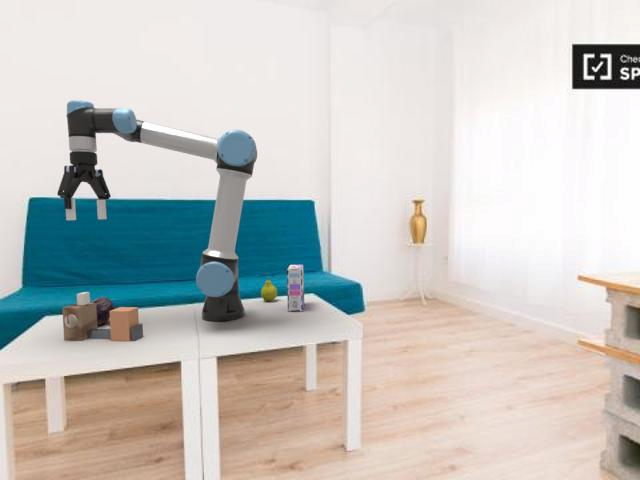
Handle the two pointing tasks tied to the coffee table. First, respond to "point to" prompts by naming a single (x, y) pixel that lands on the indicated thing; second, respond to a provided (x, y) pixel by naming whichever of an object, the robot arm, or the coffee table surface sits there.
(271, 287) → the fruit
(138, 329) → the rail
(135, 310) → the block
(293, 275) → the candy box
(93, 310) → the cabinet
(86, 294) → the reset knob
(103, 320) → the rock
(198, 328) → the coffee table surface
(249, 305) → the coffee table surface
